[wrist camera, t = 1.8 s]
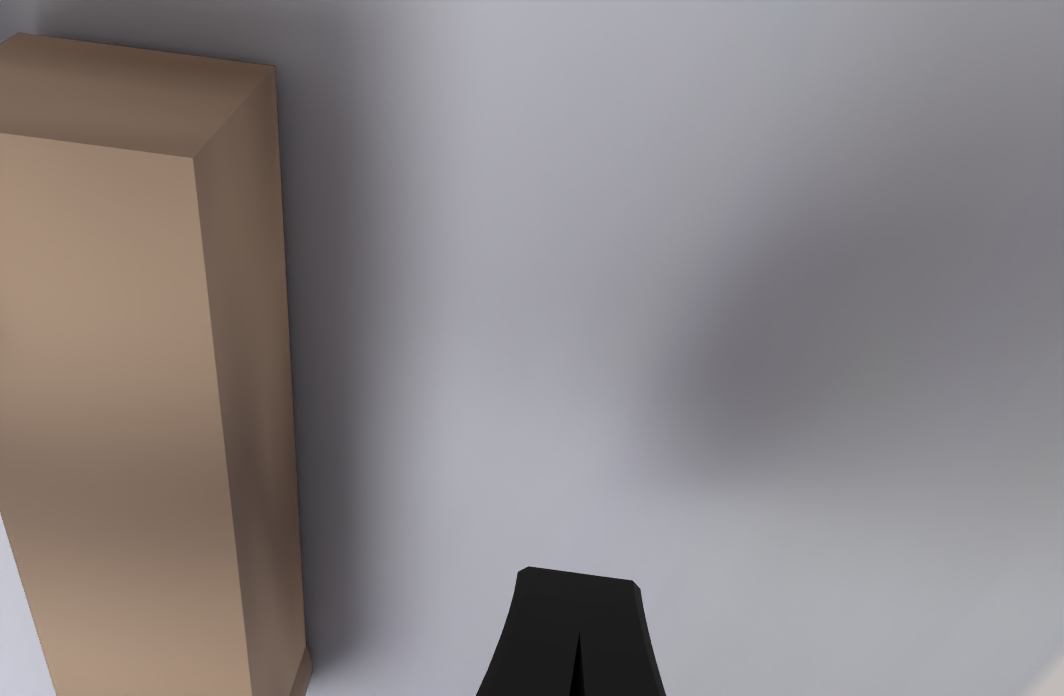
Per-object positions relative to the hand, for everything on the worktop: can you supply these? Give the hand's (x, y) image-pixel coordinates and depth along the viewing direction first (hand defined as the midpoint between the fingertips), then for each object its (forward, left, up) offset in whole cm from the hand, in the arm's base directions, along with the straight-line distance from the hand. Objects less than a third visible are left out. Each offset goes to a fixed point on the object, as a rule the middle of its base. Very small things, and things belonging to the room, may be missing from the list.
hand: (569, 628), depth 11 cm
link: (-1, +5, -3) cm, 6 cm away
